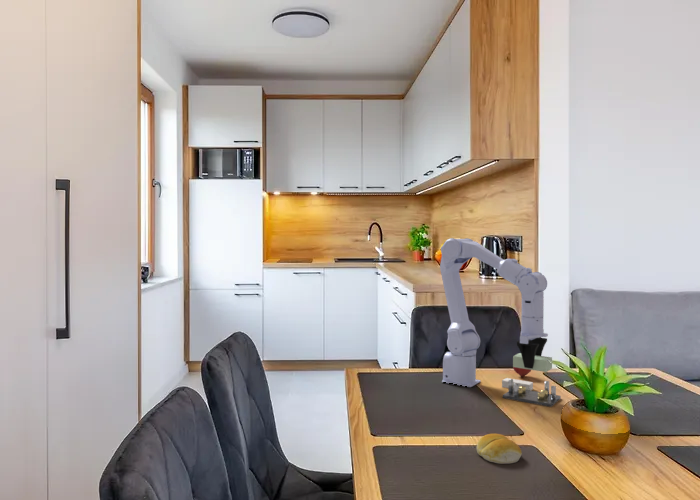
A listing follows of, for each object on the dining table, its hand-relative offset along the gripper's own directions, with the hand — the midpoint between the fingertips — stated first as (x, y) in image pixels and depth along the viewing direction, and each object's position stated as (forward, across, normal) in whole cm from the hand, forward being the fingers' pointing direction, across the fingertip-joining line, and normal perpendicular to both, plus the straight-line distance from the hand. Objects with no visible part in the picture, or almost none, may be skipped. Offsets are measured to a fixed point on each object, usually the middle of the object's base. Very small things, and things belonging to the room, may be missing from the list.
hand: (531, 365), depth 143 cm
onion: (+9, +21, +10) cm, 25 cm away
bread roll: (+10, -42, -7) cm, 44 cm away
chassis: (+9, 0, 0) cm, 9 cm away
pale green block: (0, 0, 0) cm, 1 cm away
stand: (+9, +8, +6) cm, 13 cm away
